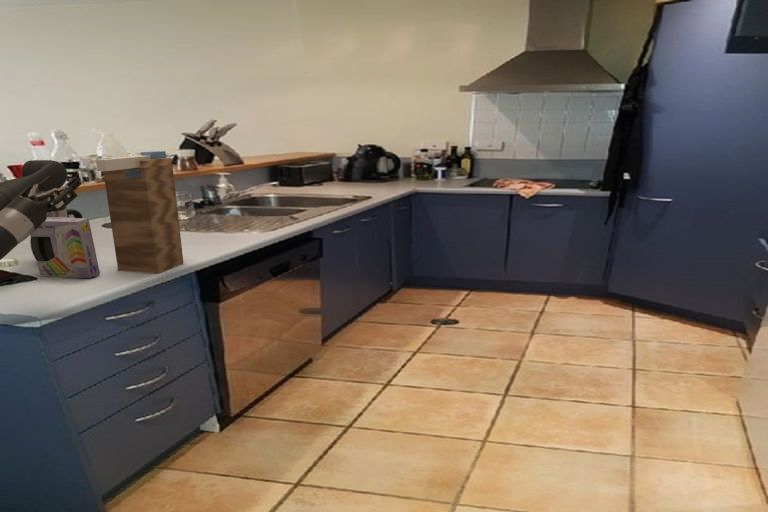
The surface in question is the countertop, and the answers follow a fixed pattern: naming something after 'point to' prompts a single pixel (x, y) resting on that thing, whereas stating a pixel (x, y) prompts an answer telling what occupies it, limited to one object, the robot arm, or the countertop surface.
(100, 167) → the cream and blue bar
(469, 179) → the countertop surface
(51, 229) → the cake pan box
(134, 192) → the wood grain block
